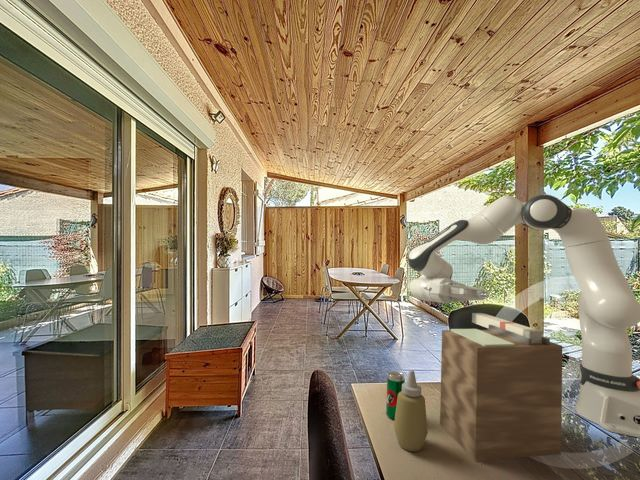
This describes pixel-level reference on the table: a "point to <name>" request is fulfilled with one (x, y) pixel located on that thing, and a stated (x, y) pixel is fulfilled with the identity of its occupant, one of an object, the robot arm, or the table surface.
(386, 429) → the table surface
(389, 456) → the table surface
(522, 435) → the cabinet
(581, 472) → the table surface
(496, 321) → the red-banded cream beam
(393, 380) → the soda can
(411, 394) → the squeeze bottle
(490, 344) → the plate
